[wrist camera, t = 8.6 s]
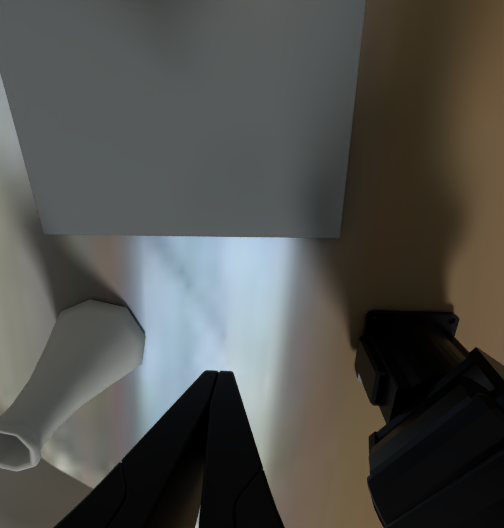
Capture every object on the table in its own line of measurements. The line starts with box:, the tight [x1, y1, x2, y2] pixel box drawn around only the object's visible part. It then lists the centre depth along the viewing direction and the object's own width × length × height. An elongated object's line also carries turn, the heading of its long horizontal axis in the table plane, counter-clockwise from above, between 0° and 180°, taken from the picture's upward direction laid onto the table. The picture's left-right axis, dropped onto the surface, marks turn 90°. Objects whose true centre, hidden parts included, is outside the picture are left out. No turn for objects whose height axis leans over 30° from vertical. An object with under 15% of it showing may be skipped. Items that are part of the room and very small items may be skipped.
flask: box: [0, 299, 145, 471], centre depth 20 cm, size 7×7×10 cm
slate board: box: [0, 0, 366, 238], centre depth 17 cm, size 20×20×1 cm
